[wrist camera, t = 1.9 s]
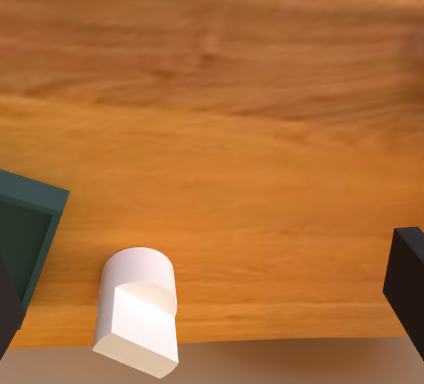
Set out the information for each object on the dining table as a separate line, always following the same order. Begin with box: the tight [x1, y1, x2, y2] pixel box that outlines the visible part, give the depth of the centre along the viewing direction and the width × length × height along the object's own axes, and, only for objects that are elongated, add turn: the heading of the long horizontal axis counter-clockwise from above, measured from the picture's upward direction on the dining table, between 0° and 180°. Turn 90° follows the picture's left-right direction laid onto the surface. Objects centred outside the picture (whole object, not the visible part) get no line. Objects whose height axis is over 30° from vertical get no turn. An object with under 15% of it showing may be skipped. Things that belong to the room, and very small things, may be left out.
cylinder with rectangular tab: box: [92, 247, 178, 378], centre depth 43 cm, size 9×9×12 cm
